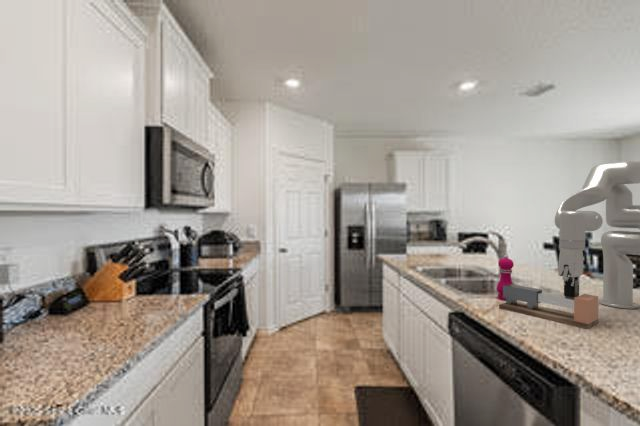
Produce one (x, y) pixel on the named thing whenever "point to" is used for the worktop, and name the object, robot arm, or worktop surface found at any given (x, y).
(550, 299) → the tube
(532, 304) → the outer sleeve
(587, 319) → the socket block
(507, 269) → the pepper mill
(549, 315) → the base board
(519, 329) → the worktop surface
